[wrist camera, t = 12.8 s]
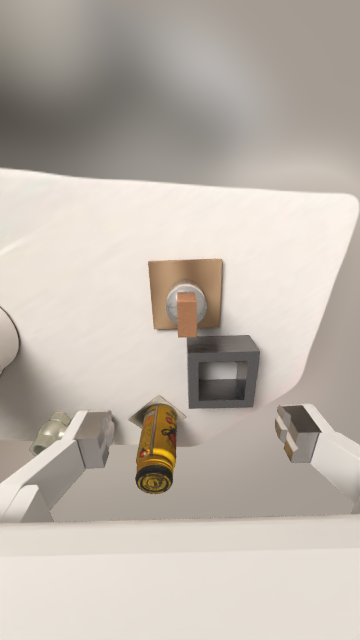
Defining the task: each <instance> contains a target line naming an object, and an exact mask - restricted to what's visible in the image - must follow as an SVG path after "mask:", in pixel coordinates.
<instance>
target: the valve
mask: <svg viewBox="0 0 360 640" xmlns="http://www.w3.org/2000/svg"><path fill="white" fill-rule="evenodd" d="M70 421H71V419H70V418H69V417H68V416H67V415H66V413H60V412H55V413H54V414H53V415H52V417H51V418H50V420H49V422H47V423H45V424H44V425H43V426H42V427H41V428H40V430H39V432H38V435H37V438H36V440H35V441H34V442H33V444H32V446H31V447H30V449H29V450H30V452H31V453H32V454H33V455H34V456H37V455H39V454H40V453H41V452H43V451H44V450H45V449H47V448H48V447H49V446H51V445H52V444H53V443H55V442H56V441H57V440H61V439H62V437H63V435H64V434H65V432H66V430H67V428H68V427H69V425H68V424H69V422H70ZM111 421H112V420H111ZM112 422H113V421H112ZM108 449H109V447H108Z"/></svg>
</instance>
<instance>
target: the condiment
mask: <svg viewBox="0 0 360 640" xmlns="http://www.w3.org/2000/svg"><path fill="white" fill-rule="evenodd" d="M185 417H186V416H184V415H183V414H182V413H181V412H180V411H179V410H177V409H176V408H175V407H174V406H172V405H171V404H170V403H169V402H167V401H166V400H164V399H163V398H162V397H161V396H159V395H158V396H157V397H156V398H154V399H153V400H152V401H151V402H149V403H148V404H147V405H145V406H144V407H143V408H142V409H141V410H140V411H138V412H137V413H136V414H134V415H133V416H132V417H131V418H130V419H128V420H129V421H131V422H133V423H134V424H136V425H137V426H139V427H140V428H142V432H141V437H140V443H139V448H138V453H137V459H136V463H137V474H136V478H135V479H136V484H137V486H138V488H139V489H141V490H142V491H144V492H146V493H150V494H160V493H163V492H165V491H167V490H168V489H169V488H170V487H171V485H172V482H173V469H174V467H175V463H176V432H177V431H176V429H177V426H176V425H177V423H178V422H179V421H181V420H182V419H184V418H185Z"/></svg>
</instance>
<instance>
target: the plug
mask: <svg viewBox="0 0 360 640" xmlns="http://www.w3.org/2000/svg"><path fill="white" fill-rule="evenodd" d="M206 310H207V304H206V300H205V297H204V295H203V292H202V289H201V288H200V286H199V285H198V284H197V283H196V282H194V281H192V280H188V279H183V280H179V281H177V282H175V283H174V284H173V285H172V286H171V288H170V290H169V293H168V297H167V302H166V312H167V315H168V317H169V318H170V320H171V321H172V322H174V323H175V324H177V325H178V338H179V337H197V323H199V322H200V321H201V320H202V319H203V317H204V316H205V314H206Z"/></svg>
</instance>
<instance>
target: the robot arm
mask: <svg viewBox="0 0 360 640" xmlns="http://www.w3.org/2000/svg"><path fill="white" fill-rule="evenodd" d="M18 347H19V341H18V335H17V332H16V329H15V327H14V325H13V323H12V321H11V320H10V318H9V317H8V316H7V314H6V313H5V312H4V311H3V310H2V309H1V308H0V376H1V373H2V370H3V369H4V368H5V367H6V366H7V365H9V364H10V363H11V362H12V361H13V360H14V358H15V357H16V355H17V352H18ZM277 412H278V414H279V415H278V416H277V418H276V419H275V428H276V432H277V435H278V437H279V439H280V440H281V441H282V442H283V443H285V446H284V449H285V451H286V453H287V455H288V457H289V459H290V461H291V463H311V464H312V466H314V467H315V468H316V469H317V470H318V471H319V472H320V473H321V474H322V475H323V476H324V477H326V478H327V479H328V480H329V481H330V482H331V483H332V484H333V485H334V486H335V487H337V488H338V489H339V490H340V491H341V492H342V493H343V494H344V495H345V496H346V497H347V498H348V499H350V500H351V501H352V502H353V503H354V504H355V506H354V508H353V510H352V512H351V514H343V515H307V516H306V515H304V516H266V517H229V518H228V517H227V518H189V519H153V520H114V521H73V522H54V521H53V519H52V516H51V514H50V512H49V511H50V510H51V508H52V507H53V506H54V505H55V504H56V503H57V502H58V500H59V499H60V498H61V497H62V496H63V495H64V493H65V492H66V491H67V490H68V489H69V488H70V487H71V486H72V484H73V483H74V482H75V481H76V480H77V479H78V478H79V477H80V475H81V474H82V473H83V472H84V471H85V469H89V468H104V467H105V464H106V461H107V458H108V455H109V451H108V447H109V446H110V445H111V444H112V442H113V439H114V432H115V428H114V423H113V422H112V421H111V418H112V412H111V410H79V411H78V412H77V413H76V414H75V416H74V418H73V420H72V421H71V423H70V425H69V427H68V428H67V430H66V432H65V434H64V435H63V437H62V439H61V440H57V441H56V442H55V443H53V444H52V445H51V446H49V447H48V448H47V449H45V450H44V451H43V452H41V453H40V454H39V455H37V456H36V457H35V458H33V459H32V460H31V461H29V462H28V463H27V464H26V465H24V466H23V467H22V468H20V469H19V470H18V471H16V472H15V473H14V474H12V475H11V476H10V477H8V478H7V479H6V480H4V481H3V482H2V483H0V640H360V445H358V444H357V443H355V442H354V441H352V440H350V439H349V438H347V437H345V436H344V435H342V434H340V433H339V432H334V430H333V429H332V428H331V426H330V425H329V424H328V423H327V422H326V420H325V419H324V418H323V417H322V416H321V414H320V413H319V412H318V410H317V409H316V408H315V407H314V405H312V404H292V405H279V406H278V409H277Z"/></svg>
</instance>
